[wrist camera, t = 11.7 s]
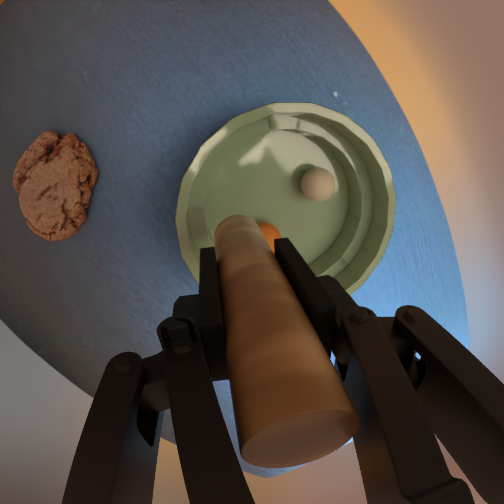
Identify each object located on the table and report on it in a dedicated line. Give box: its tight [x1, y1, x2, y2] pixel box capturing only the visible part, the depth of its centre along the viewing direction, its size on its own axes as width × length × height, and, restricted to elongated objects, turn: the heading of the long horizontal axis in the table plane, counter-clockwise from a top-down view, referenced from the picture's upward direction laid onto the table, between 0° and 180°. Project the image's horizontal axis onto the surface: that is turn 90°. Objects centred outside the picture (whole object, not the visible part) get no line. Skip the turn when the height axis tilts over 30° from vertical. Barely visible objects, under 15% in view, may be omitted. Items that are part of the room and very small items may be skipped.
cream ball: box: [301, 167, 335, 202], centre depth 24 cm, size 3×3×3 cm
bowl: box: [175, 102, 396, 295], centre depth 24 cm, size 18×18×6 cm
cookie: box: [12, 131, 98, 241], centre depth 21 cm, size 10×11×3 cm
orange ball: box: [258, 222, 281, 253], centre depth 25 cm, size 3×3×3 cm
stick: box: [214, 214, 360, 468], centre depth 13 cm, size 3×3×15 cm
